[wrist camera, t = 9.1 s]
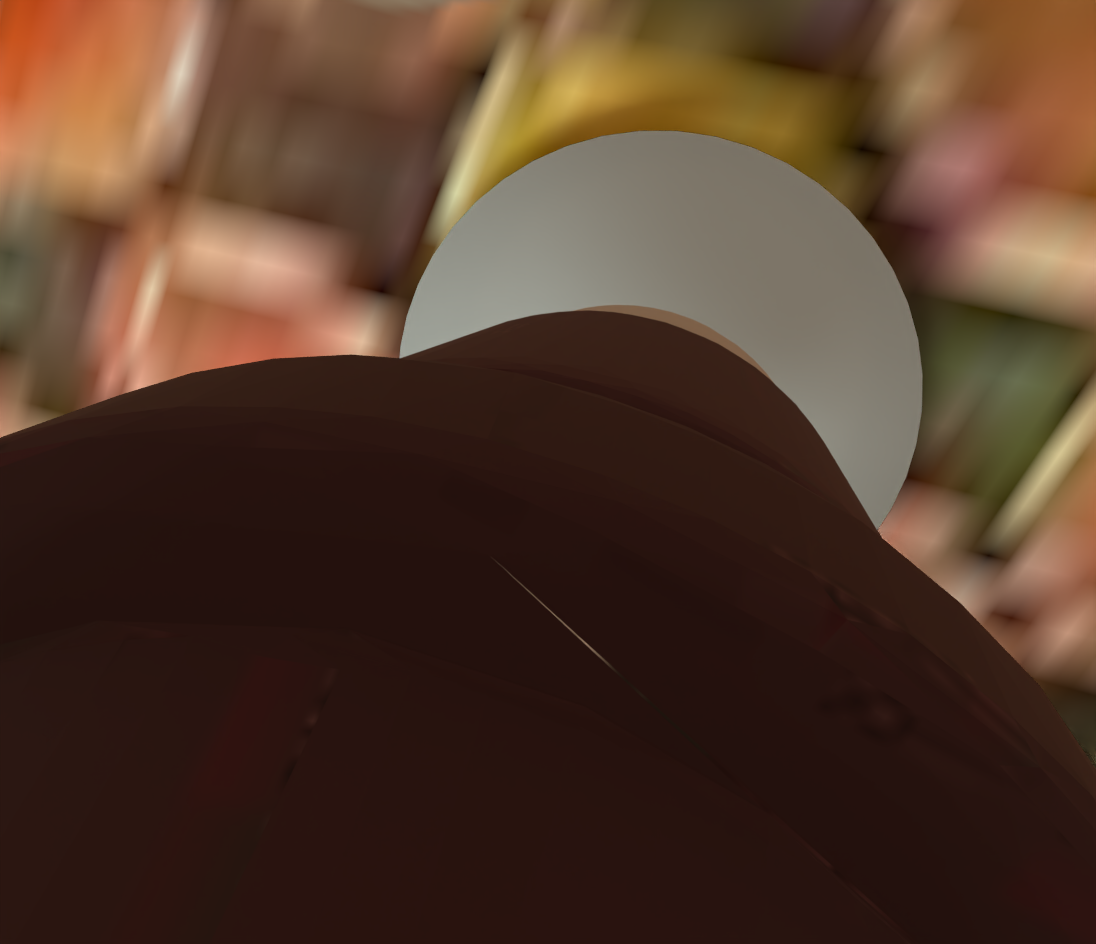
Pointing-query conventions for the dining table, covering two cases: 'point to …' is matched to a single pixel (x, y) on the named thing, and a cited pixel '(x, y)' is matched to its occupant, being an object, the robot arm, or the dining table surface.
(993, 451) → the dining table surface
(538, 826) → the coffee cup
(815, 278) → the pale grey round disc
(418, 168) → the dining table surface
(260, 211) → the dining table surface
